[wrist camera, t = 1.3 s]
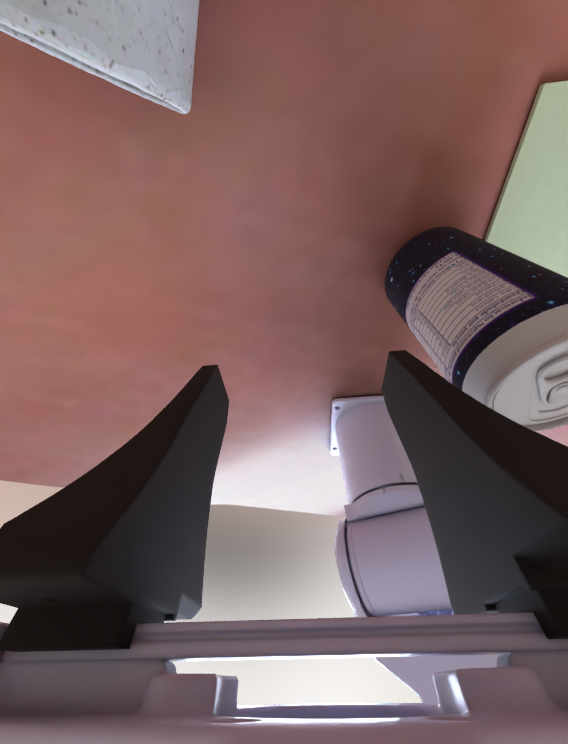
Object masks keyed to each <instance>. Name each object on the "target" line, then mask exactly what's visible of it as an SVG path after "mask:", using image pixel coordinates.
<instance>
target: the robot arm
mask: <svg viewBox="0 0 568 744" xmlns="http://www.w3.org/2000/svg"><path fill="white" fill-rule="evenodd" d="M382 393H383V395H381V396H367V397H352V398H338V399H334V400H333V401H332V412H331V439H330V454H331V455H334V456H335V455H339V456H340V462H341V467H342V472H343V477H344V482H345V488H346V493H347V498H348V502H349V504H348V505H345V506H344V507H345V513H346V519H342V520H341V521H340V522H339V524H338V528H337V530H336V534H335V555H336V563H337V568H338V573H339V576H340V580H341V584H342V587H343V590H344V593H345V595H346V598H347V600H348V602H349V603H350V605H351V607H352V610H353V612H354V615H355V617H353V618H321V619H320V618H318V619H287V620H286V619H285V620H249V621H215V622H179V623H164V621H175V620H176V619H191V618H193V617H194V616H195V615H196V614H197V613H198V611H199V610H200V608H201V607H202V590H203V575H204V560H205V548H206V539H207V528H208V519H209V511H210V510H209V509H210V502H211V495H212V487H213V481H214V476H215V471H216V466H217V462H218V458H219V454H220V450H221V445H222V441H223V437H224V433H225V428H226V424H227V416H228V406H229V399H228V396H227V393H226V390H225V387H224V383H223V380H222V377H221V374H220V371H219V368H218V365H210V366H202V367H201V368H200V370H199V371H198V372H197V373H196V374H195V375H194V376H193V377H192V379H191V380H190V381H189V382H188V383H187V384H186V385H185V387H184V388H183V389H182V390H181V391H180V392H179V393H178V394H177V395H176V397H175V398H174V399H173V400H172V401H171V402H170V403H169V404H168V405H167V406H166V407H165V408H164V409H163V410H162V411H161V412H160V413H159V414H158V415H157V416H156V417H155V418H154V419H153V420H152V421H151V422H150V423H149V424H148V425H147V426H146V427H144V428H143V429H142V430H141V431H140V432H139V433H138V434H137V435H135V436H134V437H133V438H132V439H131V440H129V441H128V442H127V443H126V444H125V445H123V446H122V447H121V448H120V449H118V450H117V451H116V452H114V453H113V454H112V455H110V456H109V457H108V458H106V459H105V460H104V461H102V462H101V463H100V464H98V465H97V466H96V467H94V468H93V469H92V470H90V471H89V472H87V473H86V474H84V475H83V476H81V477H80V478H78V479H77V480H75V481H74V482H72V483H71V484H69V485H68V486H66V487H65V488H63V489H62V490H60V491H59V492H57V493H55V494H54V495H52V496H51V497H49V498H47V499H46V500H44V501H42V502H41V503H39V504H37V505H35V506H34V507H32V508H30V509H29V510H27V511H25V512H24V513H22V514H20V515H19V516H17V517H15V518H14V519H12V520H10V521H8V522H6V523H5V524H4V525H3V526H2V527H1V529H0V603H2V604H6V605H9V606H13V607H17V608H18V610H17V612H16V613H15V615H14V617H13V619H12V620H11V622H10V624H8V623H2V622H0V744H568V447H567V446H565V445H563V444H560V443H558V442H556V441H554V440H552V439H549V438H547V437H545V436H543V435H541V434H539V433H537V432H535V431H533V430H530V429H528V428H526V427H524V426H522V425H520V424H518V423H516V422H515V421H513V420H511V419H509V418H507V417H505V416H503V415H502V414H500V413H498V412H496V411H494V410H493V409H491V408H489V407H487V406H486V405H484V404H482V403H481V402H479V401H477V400H476V399H474V398H473V397H471V396H470V395H468V394H466V393H465V392H463V391H462V390H460V389H459V388H457V387H456V386H454V385H453V384H451V383H450V382H448V381H447V380H446V379H444V378H443V377H441V376H440V375H439V374H437V373H436V372H434V371H433V370H432V369H430V368H429V367H428V366H426V365H425V364H424V363H422V362H421V361H420V360H418V359H417V358H416V357H414V356H413V355H411V354H410V353H409V352H407V351H406V350H402V351H389V355H388V360H387V365H386V370H385V375H384V380H383V385H382ZM336 406H338V407H336ZM353 657H354V658H355V657H373V658H374V659H375V660H376V661H377V662H379V663H380V664H381V665H382V666H383V667H385V668H386V669H387V670H388V671H390V672H391V673H392V674H393V675H394V676H396V677H397V678H398V679H399V680H401V681H402V682H403V683H404V684H406V685H407V686H408V687H409V688H410V689H411V690H412V691H414V692H415V693H416V694H417V695H418V696H419V698H420V699H421V701H422V703H327V704H325V703H324V704H279V705H240V706H237V689H238V679H237V677H236V676H221V675H216V674H177V673H176V668H175V666H174V664H173V663H172V662H170V661H214V660H260V659H261V660H262V659H308V658H353Z"/></svg>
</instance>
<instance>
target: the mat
mask: <svg viewBox="0 0 568 744" xmlns="http://www.w3.org/2000/svg"><path fill="white" fill-rule="evenodd" d="M484 241H486V242H488V243H491V244H493V245H495V246H497V247H500V248H502V249H504V250H506V251H509V252H511V253H513V254H516V255H518V256H520V257H522V258H525V259H527V260H529V261H531V262H534V263H536V264H538V265H540V266H543V267H545V268H547V269H549V270H552V271H554V272H556V273H558V274H561V275H563V276H565V277H567V278H568V80H567V81H559V82H551V83H544V84H541V85H540V87H539V90H538V93H537V95H536V98H535V101H534V104H533V106H532V109H531V112H530V115H529V117H528V120H527V123H526V126H525V128H524V131H523V134H522V137H521V139H520V142H519V145H518V148H517V150H516V153H515V156H514V159H513V161H512V164H511V167H510V170H509V172H508V175H507V178H506V181H505V183H504V186H503V189H502V192H501V195H500V197H499V200H498V203H497V206H496V208H495V211H494V214H493V217H492V219H491V222H490V225H489V228H488V230H487V233H486V236H485V239H484Z"/></svg>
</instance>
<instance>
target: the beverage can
mask: <svg viewBox="0 0 568 744" xmlns="http://www.w3.org/2000/svg"><path fill="white" fill-rule="evenodd" d="M385 291H386V295H387V297H388V299H389V301H390V302H391V304H392V305H393V306H394V308H395V309H396V310H397V312H398V313H399V315H400V316H401V317H402V319H403V320H404V322H405V323H406V324H407V326H408V327H409V328H410V330H411V331H412V333H413V334H414V335H415V337H416V338H417V339H418V341H419V342H420V344H421V345H422V346H423V348H424V349H425V351H426V352H427V353H428V355H429V356H430V357H431V359H432V360H433V362H434V363H435V364H436V366H437V367H438V368H439V370H440V371H441V373H442V374H443V375H444V377H445V378H446V379H447V381H448V382H450V383H451V384H453V385H454V386H456V387H457V388H459V389H460V390H462V391H463V392H465V393H466V394H468V395H470V396H471V397H473V398H474V399H476V400H477V401H479V402H481V403H482V404H484V405H486V406H487V407H489V408H491V409H493V410H494V411H496V412H498V413H500V414H502V415H503V416H505V417H507V418H509V419H511V420H513V421H515V422H516V423H518V424H520V425H522V426H524V427H526V428H528V429H530V430H533V431H543V430H548V429H553V428H557V427H561V426H564V425H567V424H568V278H567V277H565V276H563V275H561V274H558V273H556V272H554V271H552V270H549V269H547V268H545V267H543V266H540V265H538V264H536V263H534V262H531V261H529V260H527V259H525V258H522V257H520V256H518V255H516V254H513V253H511V252H509V251H506V250H504V249H502V248H500V247H497V246H495V245H493V244H491V243H488V242H486V241H484V240H482V239H479V238H477V237H475V236H473V235H470V234H468V233H466V232H464V231H461V230H459V229H456V228H453V227H438V228H433V229H430V230H427V231H424V232H422V233H420V234H418V235H417V236H415V237H414V238H412V239H411V240H409V241H408V242H407V243H406V244H405V245H404V246H403V247H402V248H401V249H400V250H399V251H398V252H397V254H396V255H395V256H394V258H393V260H392V261H391V263H390V265H389V268H388V270H387V273H386V278H385Z"/></svg>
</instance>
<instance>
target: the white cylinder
mask: <svg viewBox="0 0 568 744" xmlns="http://www.w3.org/2000/svg"><path fill="white" fill-rule="evenodd" d="M198 11H199V0H0V31H3V32H5V33H7V34H9V35H11V36H12V37H15V38H17V39H19V40H21V41H23V42H25V43H27V44H30V45H32V46H34V47H36V48H38V49H40V50H42V51H44V52H46V53H48V54H50V55H52V56H55V57H57V58H59V59H61V60H63V61H65V62H67V63H69V64H72V65H74V66H76V67H78V68H80V69H82V70H84V71H86V72H88V73H91V74H94V75H96V76H99V77H101V78H103V79H105V80H107V81H109V82H111V83H113V84H115V85H117V86H119V87H121V88H123V89H126V90H128V91H130V92H133V93H135V94H137V95H140V96H142V97H143V98H145V99H148V100H151V101H153V102H155V103H157V104H160V105H163V106H165V107H167V108H169V109H172V110H175V111H177V112H179V113H183V114H186V113H188V112H189V111H190V109H191V100H192V86H193V71H194V58H195V46H196V34H197V23H198Z"/></svg>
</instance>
